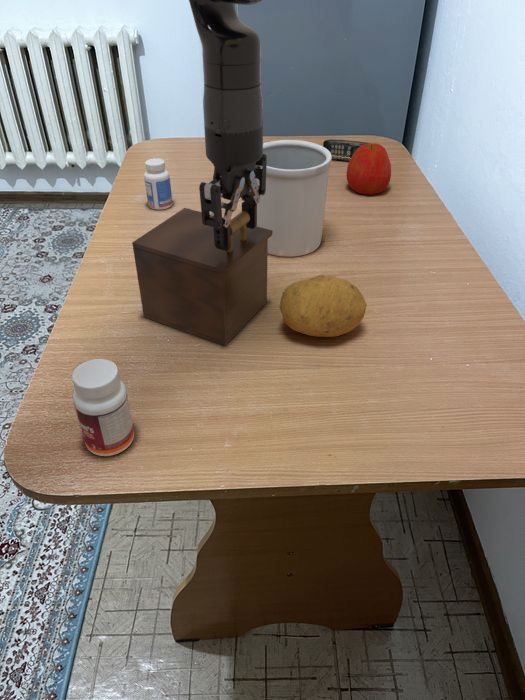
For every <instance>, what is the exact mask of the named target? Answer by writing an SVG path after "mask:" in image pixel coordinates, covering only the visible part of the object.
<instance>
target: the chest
mask: <svg viewBox="0 0 525 700" xmlns="http://www.w3.org/2000/svg"><path fill="white" fill-rule="evenodd" d="M132 250H133V257H134V263H135V270H136V276H137V283H138V290H139V295H140V302H141V308H142V313H143V318H145V319H147V320H150V321H153V322H155V323H158V324H159V323H160V324H163V325H165V326H168V327H170V328H174V329H176V330H178V331H182V332H184V333H187V334H190V335H193V336H196V337H198V338H201V339H203V340H207V341H210V342H212V343H216V344H219V345H220V346H224V347H225V346H227V344H229V342H230V341H232V340H233V339H234V337H235V336H236V335H237V334H238V333H239V332H240V331H241V330H242V329H243V328H244V327H245V326H246V325H247V324H248V323H249V321H250V320H252V318H254V316H256V315H257V313H258V312H259V311H261V309H262V308H263V307H264V306H265V305H266V304H267V303H268V254H269V253H268V239H267V240H266V241H265V242H264V243H263V244H262V245H261V246H259V247H258V248H257V249H256V250H255V251H254V252H253V253H251V254H250V255H249V256H248V257H247V258H246V259H245V260H244V261H242V262H241V263H240V264H239V265H238V266H237V267H236V268H234V269H233V270H232V271H231V272H230V273H229V274H228V275H224V274H220V273H217V272H214V271H210V270H207V269H204V268H201V267H197V266H194V265H191V264H187V263H184V262H181V261H177V260H174V259H171V258H167V257H164V256H161V255H157V254H154V253H151V252H147V251H144V250H141V249H137V248H134V247H133V246H132Z"/></svg>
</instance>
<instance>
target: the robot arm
mask: <svg viewBox="0 0 525 700" xmlns="http://www.w3.org/2000/svg"><path fill="white" fill-rule="evenodd" d="M262 1H263V0H188V2H189V5H190V10H191V13H192V17H193V21H194V24H195V28H196V31H197V34H198V37H199V41H200V45H201V53H202V54H201V55H202V69H203V70H202V72H203V73H202V74H203V95H202V96H203V97H202V111H203V128H204V146H205V147H204V148H205V156H206V158H207V160H208V161H209V162H210V163H211V164H212V165H213V167H214V169H213V174H212V180H210V181H209V182H205V181H201V182H200V183H199V187H198V189H199V200H200V212H202V223H203V225H206V226H211V227H213V228H214V244H215V247H216V248H217V249H220V250H224V251H227V250H229V249H230V248H231V240H230V225H229V223H230V220H231V219H232V215H233V212H236V211H237V209H238V204H239V201H240V199H241V201H242V202H241V212H242V211H245V212H247V213H248V214H249V216H250V221H249V222H248V223H247V224H246V227H247V228H251V229H254V228H255V227H256V226H257V204H258V203H259V201H260V195H264V194H265V192H266V164H267V156H266V154H263V143H264V99H263V98H264V97H263V90H262V41H261V37H260V35H259V33H258V32H257V31H256V30H255V29H253V28H252V27H250V26H249V25H247V24H245V23H244V22H242V21H241V20H240V18H239V16H238V13H237V12H238V11H237V10H236V6H235V5H240V6H241V5H242V6H250V5H251V6H252V5H255V4H258V3H261V2H262ZM255 178H256V179H259V186H258V184H257V182H256V179H255ZM222 199H224V200H226V201H229V202H223V201H222ZM223 209H224V213H223ZM210 212H211V213H210ZM210 215H211V216H210Z"/></svg>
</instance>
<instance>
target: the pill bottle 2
mask: <svg viewBox="0 0 525 700" xmlns="http://www.w3.org/2000/svg"><path fill="white" fill-rule="evenodd" d="M145 169H146V171H144V174H143V180H144V186H145V192H146V200H147V206H148V207H149V208H150V209H153V210H158V211H159V210H160V211H161V210H167V209H169V208H170V207H172V206H173V195H172V185H171V177H170V172H169V170H167V169H166V163H165V160H164V159H163V158H158V157H157V158H149V159H147V160H146V161H145Z"/></svg>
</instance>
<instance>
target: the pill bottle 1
mask: <svg viewBox="0 0 525 700" xmlns="http://www.w3.org/2000/svg"><path fill="white" fill-rule="evenodd" d="M71 378H72V379H71V380H72V384H73V388H74V391H73V394H72V402H73V406H74V409H75V413H76V416H77V421H78V423H79V427H80V432H81V435H82V439H83V442H84V444H85V447H86V448H87V450H88V451H89V452H90V453H92V454H94V455H96V456H99V457H100V456H102V457H110V456H115V455H117V454H120V453H123V452H124V451H125V450H126V449H127V448H129V447H130V445H131V444H132V442H133V441H134V438H135V429H134V424H133V418H132V413H131V408H130V407H131V406H130V401H129V397H128V391H127V389H126V385H125V383H124V382H123V381H122V380H121V377H120V374H119V369H118V366H117V365H116V363H114V362H113V361H111V360H109V359H106V358H93V359H89V360H87V361H84V362H81V363H80V364H79V365H78V366H77V367H75V368H74V370H73V372H72V376H71Z"/></svg>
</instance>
